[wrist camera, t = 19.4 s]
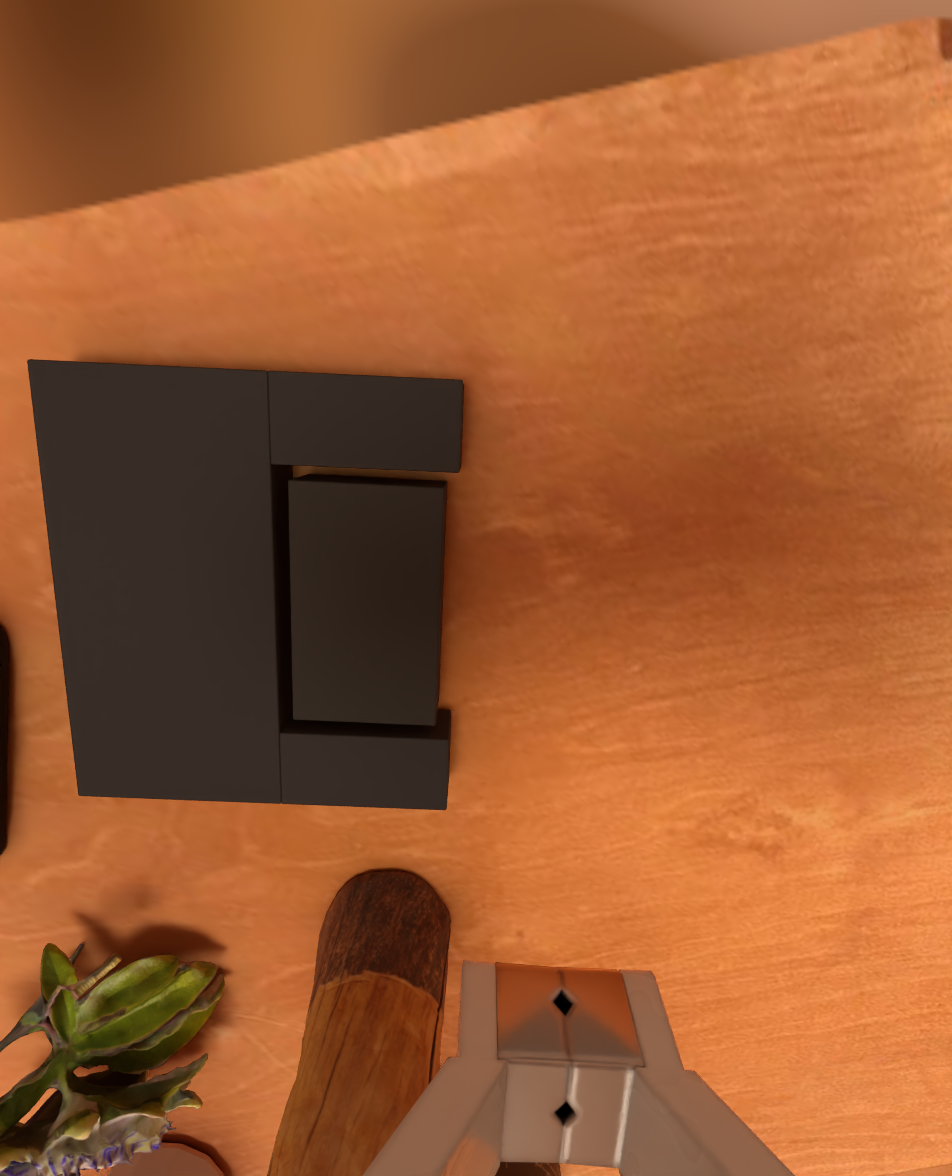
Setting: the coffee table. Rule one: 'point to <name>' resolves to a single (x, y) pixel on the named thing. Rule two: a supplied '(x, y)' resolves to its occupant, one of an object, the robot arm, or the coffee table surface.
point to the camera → (3, 734)
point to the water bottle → (168, 1163)
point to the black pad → (366, 598)
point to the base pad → (216, 576)
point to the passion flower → (104, 1062)
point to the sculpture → (367, 1025)
